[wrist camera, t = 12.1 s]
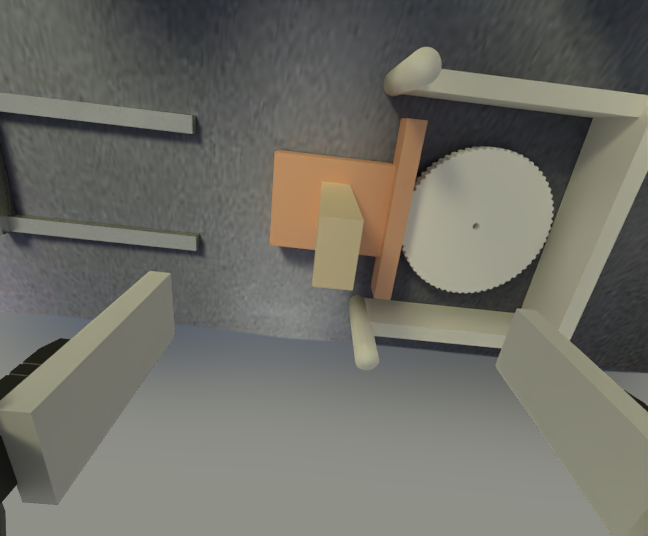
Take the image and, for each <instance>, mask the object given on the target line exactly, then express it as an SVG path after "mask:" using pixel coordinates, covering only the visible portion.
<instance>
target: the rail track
mask: <svg viewBox="0 0 648 536" xmlns="http://www.w3.org/2000/svg"><path fill="white" fill-rule="evenodd" d="M0 111H1V112H10V113H18V114H27V115H36V116H44V117H53V118H61V119H70V120H78V121H87V122H95V123H104V124H112V125H121V126H129V127H138V128H146V129H155V130H163V131H172V132H180V133H189V134H196V116H195V115H187V114H178V113H170V112H162V111H153V110H145V109H136V108H128V107H120V106H111V105H103V104H95V103H86V102H78V101H70V100H61V99H53V98H44V97H36V96H28V95H19V94H11V93H3V92H0ZM9 232H21V233H30V234H40V235H50V236H59V237H69V238H78V239H88V240H97V241H107V242H116V243H126V244H135V245H145V246H154V247H164V248H173V249H183V250H192V251H197V250H198V249H199V248H200V239H199V234H198V233H189V232H179V231H170V230H160V229H151V228H142V227H132V226H123V225H114V224H104V223H95V222H86V221H76V220H67V219H58V218H48V217H39V216H29V215H20V214H16V210H15V206H14V202H13V198H12V193H11V189H10V185H9V181H8V176H7V172H6V168H5V164H4V159H3V155H2V151H1V147H0V234H2V235H3V234H6V233H9Z"/></svg>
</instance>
